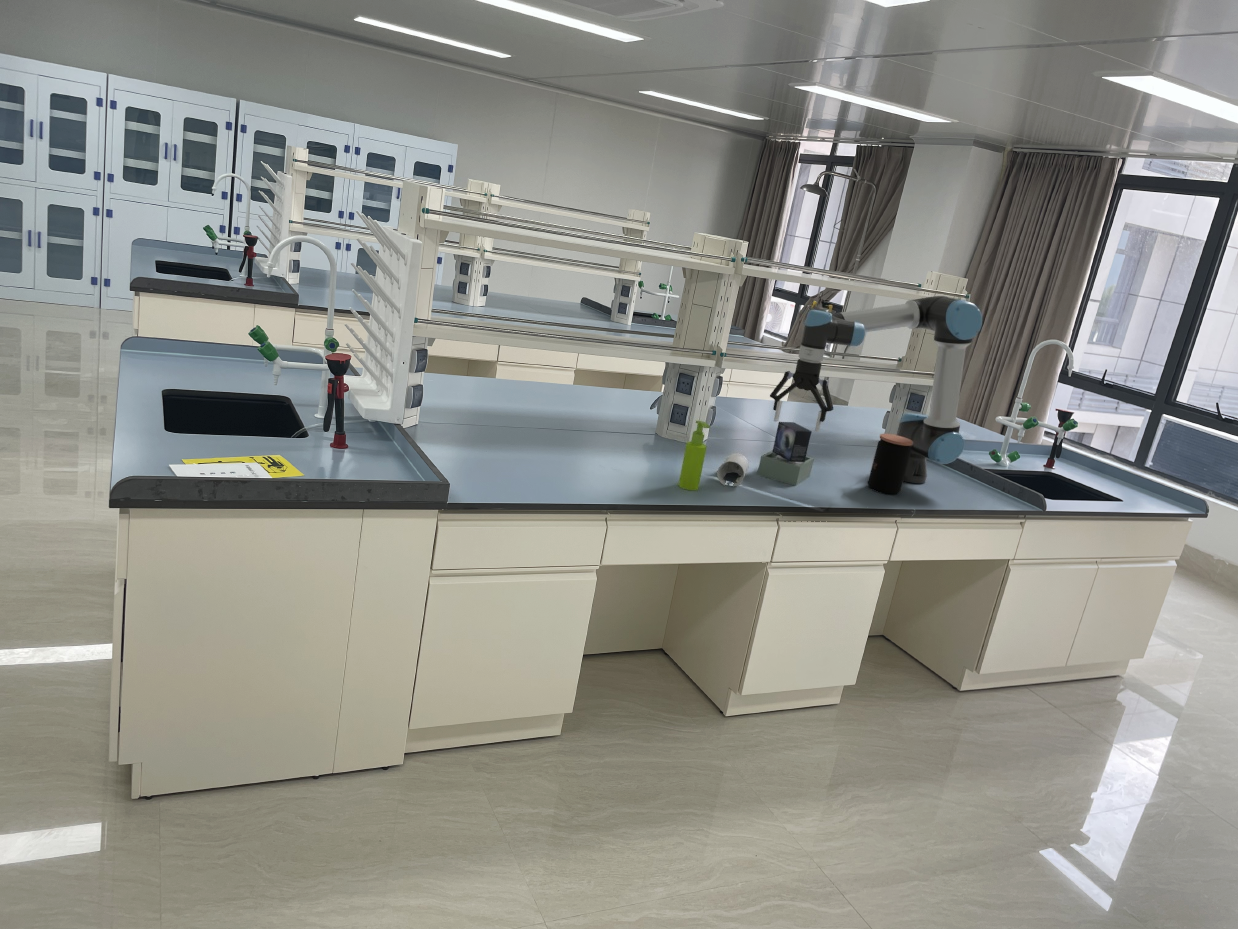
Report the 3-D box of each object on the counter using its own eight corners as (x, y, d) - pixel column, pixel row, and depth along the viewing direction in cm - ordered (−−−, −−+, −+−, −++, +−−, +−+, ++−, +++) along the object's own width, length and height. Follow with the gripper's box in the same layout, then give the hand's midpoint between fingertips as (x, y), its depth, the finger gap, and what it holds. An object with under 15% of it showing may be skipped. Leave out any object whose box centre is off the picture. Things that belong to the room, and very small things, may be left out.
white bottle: (748, 475, 280) (753, 451, 278) (740, 489, 263) (746, 464, 261) (724, 469, 282) (729, 446, 280) (714, 483, 264) (720, 458, 262)
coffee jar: (874, 483, 297) (887, 432, 292) (904, 493, 291) (918, 441, 286) (861, 487, 289) (874, 435, 284) (891, 497, 283) (906, 444, 278)
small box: (770, 451, 285) (777, 420, 283) (787, 452, 288) (794, 421, 285) (788, 461, 276) (796, 429, 273) (805, 462, 279) (812, 431, 276)
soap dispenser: (685, 491, 252) (698, 424, 246) (674, 483, 258) (687, 418, 252) (703, 492, 254) (716, 425, 249) (692, 483, 260) (705, 419, 255)
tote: (809, 478, 288) (814, 458, 286) (795, 488, 274) (800, 467, 272) (772, 467, 294) (776, 448, 292) (756, 476, 280) (761, 455, 278)
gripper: (768, 353, 275) (755, 418, 281) (846, 369, 265) (831, 437, 271) (775, 351, 282) (763, 415, 288) (852, 367, 271) (837, 433, 277)
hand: (796, 425), depth 279 cm, fingers open, 13 cm apart
